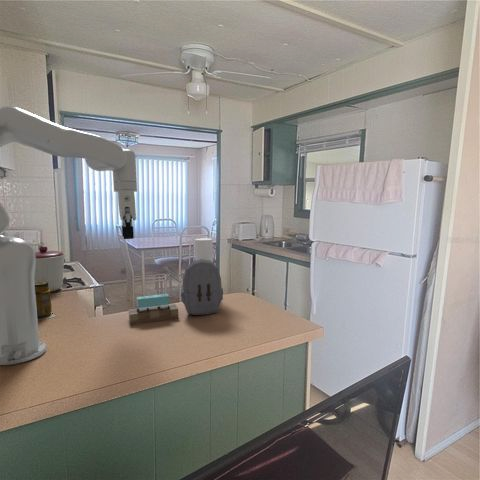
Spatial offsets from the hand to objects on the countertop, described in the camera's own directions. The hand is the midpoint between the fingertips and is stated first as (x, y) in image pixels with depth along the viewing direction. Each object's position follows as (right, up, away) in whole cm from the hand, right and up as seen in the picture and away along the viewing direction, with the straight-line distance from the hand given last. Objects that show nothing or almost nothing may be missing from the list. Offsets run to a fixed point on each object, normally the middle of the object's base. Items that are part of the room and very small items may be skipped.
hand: (127, 237), depth 117 cm
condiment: (-33, -29, +5) cm, 44 cm away
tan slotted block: (+9, -28, +1) cm, 30 cm away
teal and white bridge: (+9, -28, +1) cm, 30 cm away
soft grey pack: (+25, -28, +5) cm, 38 cm away
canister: (-52, -25, +43) cm, 72 cm away
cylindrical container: (+24, -26, +25) cm, 43 cm away
